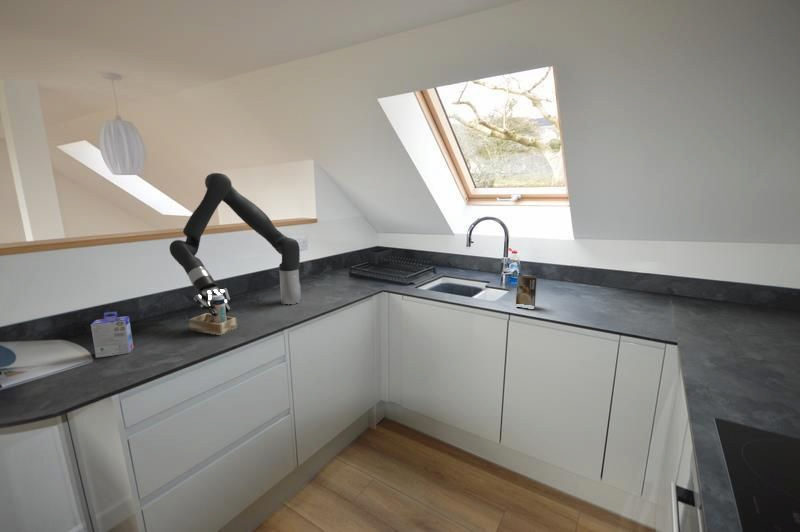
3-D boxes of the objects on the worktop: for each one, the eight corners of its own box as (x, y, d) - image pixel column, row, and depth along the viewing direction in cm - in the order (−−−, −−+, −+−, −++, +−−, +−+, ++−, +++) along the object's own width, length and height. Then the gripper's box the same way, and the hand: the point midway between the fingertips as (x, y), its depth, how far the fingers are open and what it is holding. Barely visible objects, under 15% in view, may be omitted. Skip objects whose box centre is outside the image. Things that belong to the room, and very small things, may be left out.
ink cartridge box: (134, 347, 133) (128, 309, 130) (130, 353, 128) (125, 313, 125) (100, 352, 129) (93, 312, 126) (95, 358, 124) (88, 317, 121)
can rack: (207, 323, 158) (206, 313, 157) (237, 328, 152) (236, 317, 151) (189, 330, 150) (188, 319, 149) (220, 335, 144) (219, 324, 143)
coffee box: (535, 306, 184) (537, 275, 181) (534, 310, 178) (537, 278, 175) (516, 304, 188) (518, 273, 184) (514, 308, 182) (517, 276, 179)
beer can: (216, 322, 151) (214, 294, 149) (228, 322, 152) (226, 294, 149) (211, 326, 147) (209, 297, 144) (224, 326, 147) (221, 297, 145)
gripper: (187, 278, 143) (208, 313, 139) (221, 271, 155) (241, 303, 151) (181, 289, 147) (201, 323, 143) (215, 282, 159) (234, 313, 155)
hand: (222, 313), depth 147 cm, fingers closed on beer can, 4 cm apart
